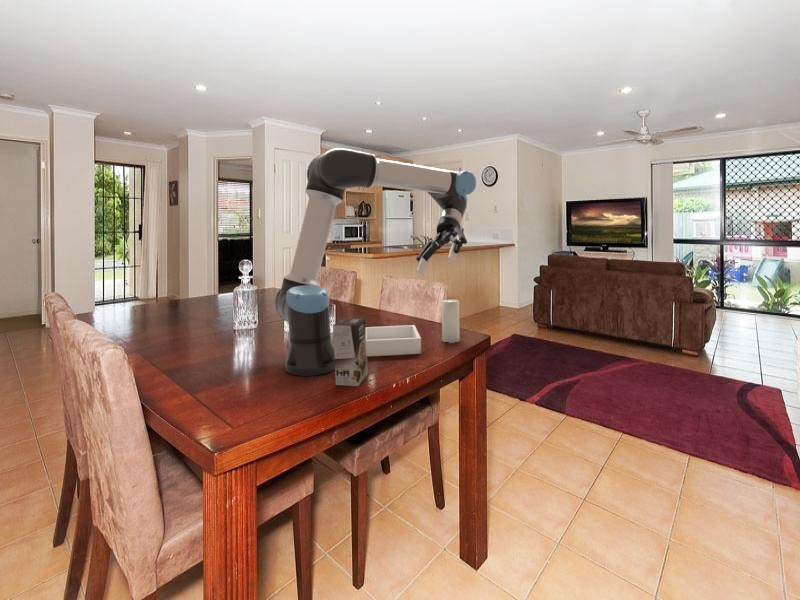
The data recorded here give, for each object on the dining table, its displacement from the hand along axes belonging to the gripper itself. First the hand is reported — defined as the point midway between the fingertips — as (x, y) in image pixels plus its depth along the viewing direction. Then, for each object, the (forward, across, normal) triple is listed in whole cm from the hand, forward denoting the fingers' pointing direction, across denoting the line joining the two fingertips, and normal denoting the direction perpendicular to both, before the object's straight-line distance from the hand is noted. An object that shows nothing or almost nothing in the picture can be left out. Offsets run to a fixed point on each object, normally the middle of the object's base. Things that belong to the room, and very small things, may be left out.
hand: (434, 267), depth 138 cm
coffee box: (+44, +10, +6) cm, 46 cm away
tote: (+19, +21, -10) cm, 30 cm away
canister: (+9, +10, -25) cm, 28 cm away
